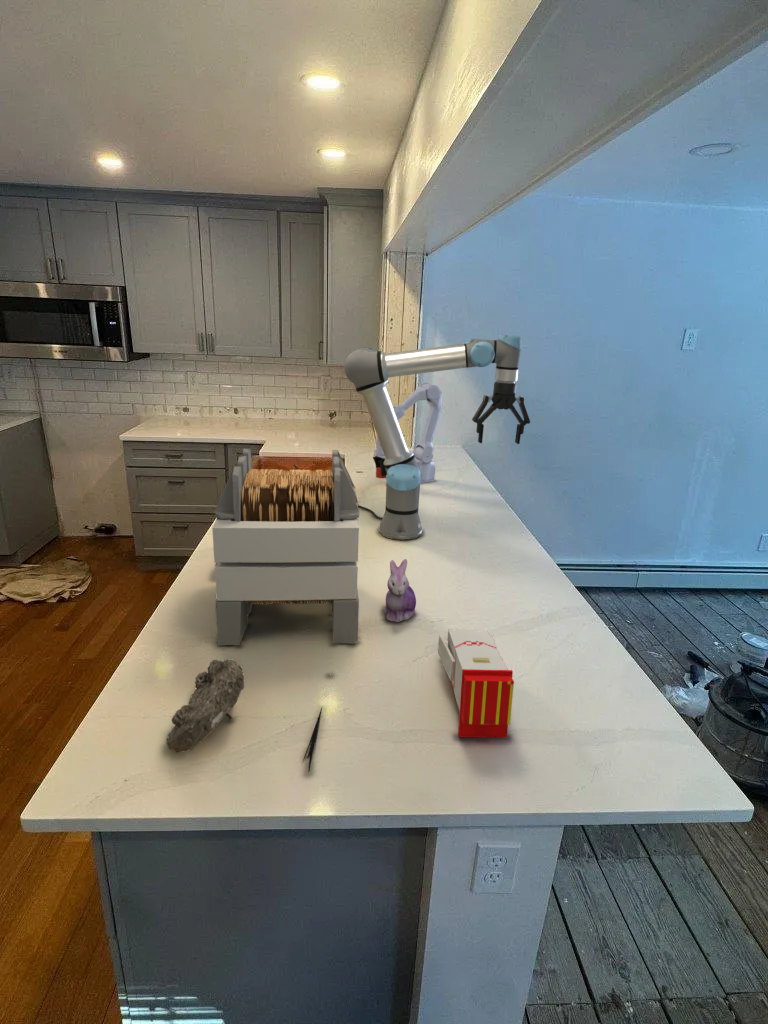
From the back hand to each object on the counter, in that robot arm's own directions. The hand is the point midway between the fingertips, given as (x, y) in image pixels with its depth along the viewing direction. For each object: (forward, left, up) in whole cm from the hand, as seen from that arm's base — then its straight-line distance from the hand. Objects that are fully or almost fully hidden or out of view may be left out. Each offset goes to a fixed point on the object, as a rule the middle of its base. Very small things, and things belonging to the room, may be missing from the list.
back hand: (381, 473), depth 255 cm
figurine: (+62, +99, -4) cm, 117 cm away
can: (0, 0, -1) cm, 1 cm away
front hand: (-6, +63, +27) cm, 69 cm away
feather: (+99, +123, -4) cm, 158 cm away
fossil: (+116, +111, -4) cm, 161 cm away
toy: (+68, +132, -4) cm, 148 cm away
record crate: (+85, +83, -4) cm, 119 cm away
